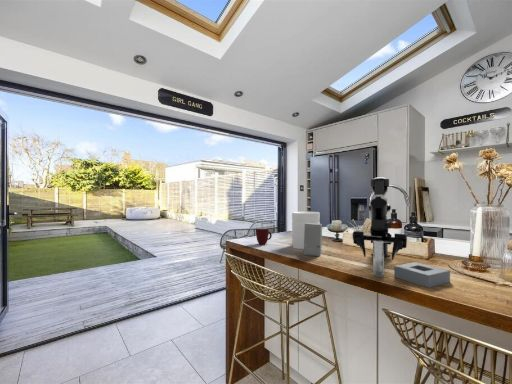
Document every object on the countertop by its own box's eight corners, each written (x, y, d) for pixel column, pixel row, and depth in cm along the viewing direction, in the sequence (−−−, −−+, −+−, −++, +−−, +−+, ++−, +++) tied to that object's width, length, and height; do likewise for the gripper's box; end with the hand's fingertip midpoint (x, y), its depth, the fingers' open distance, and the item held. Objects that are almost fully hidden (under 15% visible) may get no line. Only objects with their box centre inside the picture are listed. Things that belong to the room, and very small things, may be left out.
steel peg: (377, 273, 95) (377, 239, 95) (386, 276, 92) (385, 241, 92) (371, 274, 93) (371, 240, 93) (379, 277, 90) (379, 242, 90)
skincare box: (303, 255, 124) (303, 223, 124) (306, 252, 131) (306, 222, 131) (320, 256, 121) (320, 224, 121) (322, 253, 128) (322, 222, 128)
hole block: (415, 272, 96) (415, 262, 96) (450, 282, 85) (449, 270, 85) (394, 276, 91) (394, 265, 91) (428, 287, 80) (428, 275, 80)
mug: (266, 242, 159) (266, 226, 159) (274, 244, 152) (274, 227, 152) (253, 244, 152) (253, 228, 152) (261, 246, 146) (261, 229, 146)
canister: (313, 243, 154) (313, 211, 154) (324, 248, 138) (324, 213, 138) (288, 244, 151) (288, 211, 152) (297, 250, 136) (297, 213, 136)
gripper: (352, 211, 101) (349, 242, 91) (406, 212, 92) (408, 247, 82) (355, 228, 108) (352, 259, 98) (405, 230, 99) (407, 265, 89)
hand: (378, 257), depth 91 cm, fingers open, 9 cm apart
